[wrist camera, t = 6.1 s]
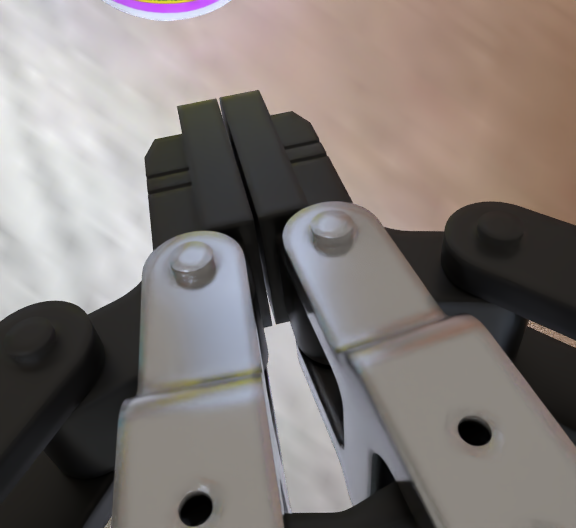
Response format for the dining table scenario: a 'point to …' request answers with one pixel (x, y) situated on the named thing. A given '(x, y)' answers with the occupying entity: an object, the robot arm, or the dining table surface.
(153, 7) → the supplement bottle
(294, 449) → the dining table surface
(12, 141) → the dining table surface
